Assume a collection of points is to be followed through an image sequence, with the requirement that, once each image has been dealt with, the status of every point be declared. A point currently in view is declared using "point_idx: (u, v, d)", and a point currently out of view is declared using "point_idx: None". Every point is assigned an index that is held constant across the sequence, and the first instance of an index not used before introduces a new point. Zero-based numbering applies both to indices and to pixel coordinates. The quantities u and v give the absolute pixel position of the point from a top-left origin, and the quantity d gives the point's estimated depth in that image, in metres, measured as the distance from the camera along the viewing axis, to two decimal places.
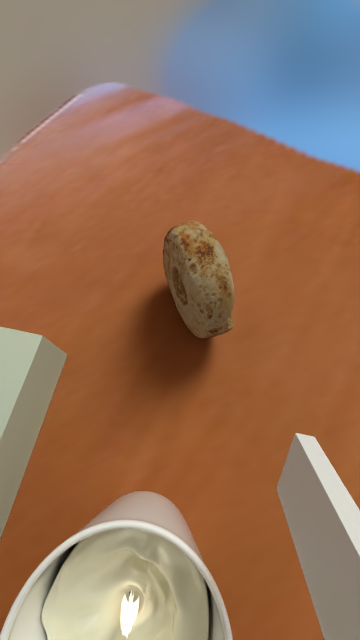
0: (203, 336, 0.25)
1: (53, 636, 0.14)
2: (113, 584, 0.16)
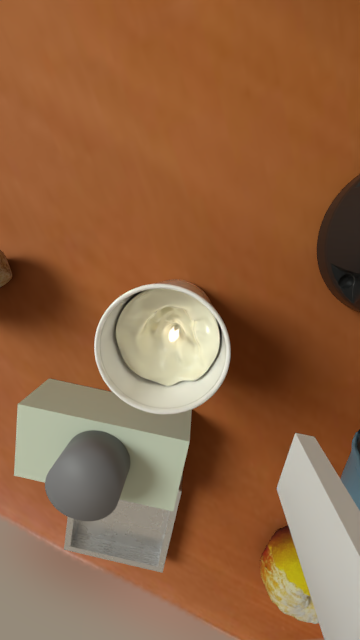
0: (4, 272, 0.28)
1: (181, 377, 0.25)
2: (163, 343, 0.25)
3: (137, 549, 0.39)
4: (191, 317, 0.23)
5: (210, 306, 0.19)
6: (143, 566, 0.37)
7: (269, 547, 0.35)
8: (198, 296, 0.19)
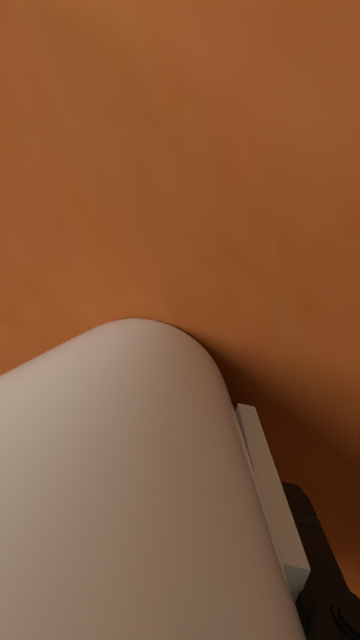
0: None
1: None
2: None
3: None
4: None
5: None
6: None
7: None
8: None
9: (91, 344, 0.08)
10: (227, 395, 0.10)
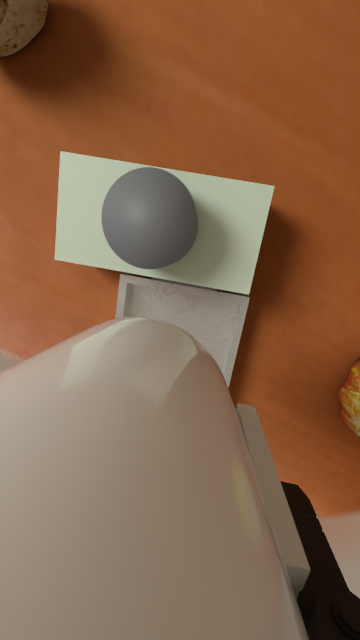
0: None
1: None
2: None
3: None
4: None
5: None
6: None
7: (353, 370, 0.29)
8: None
9: (91, 342, 0.08)
10: (228, 393, 0.10)
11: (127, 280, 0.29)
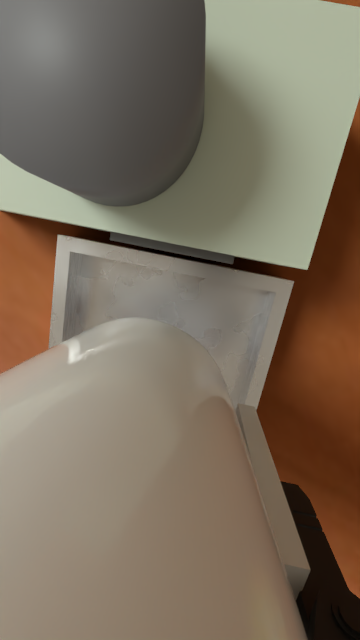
0: None
1: None
2: None
3: None
4: None
5: None
6: None
7: None
8: None
9: (91, 343, 0.08)
10: (227, 394, 0.10)
11: (70, 247, 0.16)
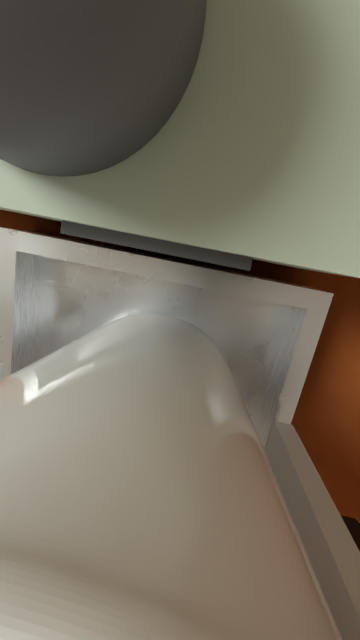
0: None
1: None
2: None
3: None
4: None
5: None
6: None
7: None
8: None
9: (115, 333, 0.09)
10: (236, 382, 0.11)
11: (17, 244, 0.11)
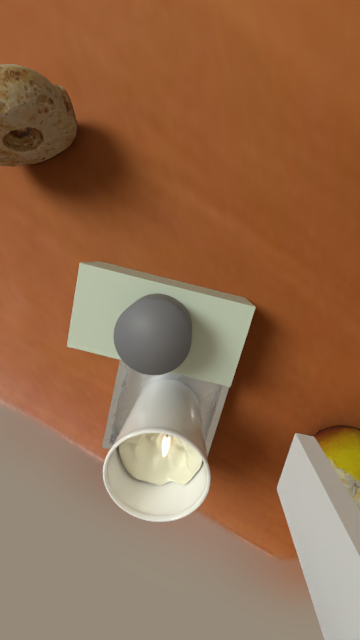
0: (74, 121, 0.27)
1: (170, 478, 0.30)
2: (157, 448, 0.30)
3: None
4: None
5: (196, 448, 0.24)
6: None
7: None
8: (187, 440, 0.24)
9: (164, 394, 0.31)
10: (198, 407, 0.33)
11: None
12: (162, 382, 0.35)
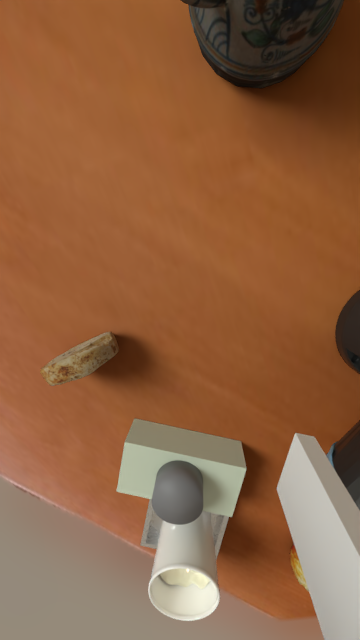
0: (117, 351, 0.40)
1: (192, 581, 0.43)
2: None
3: None
4: None
5: (209, 577, 0.37)
6: None
7: None
8: (203, 573, 0.37)
9: None
10: (210, 523, 0.46)
11: None
12: None
